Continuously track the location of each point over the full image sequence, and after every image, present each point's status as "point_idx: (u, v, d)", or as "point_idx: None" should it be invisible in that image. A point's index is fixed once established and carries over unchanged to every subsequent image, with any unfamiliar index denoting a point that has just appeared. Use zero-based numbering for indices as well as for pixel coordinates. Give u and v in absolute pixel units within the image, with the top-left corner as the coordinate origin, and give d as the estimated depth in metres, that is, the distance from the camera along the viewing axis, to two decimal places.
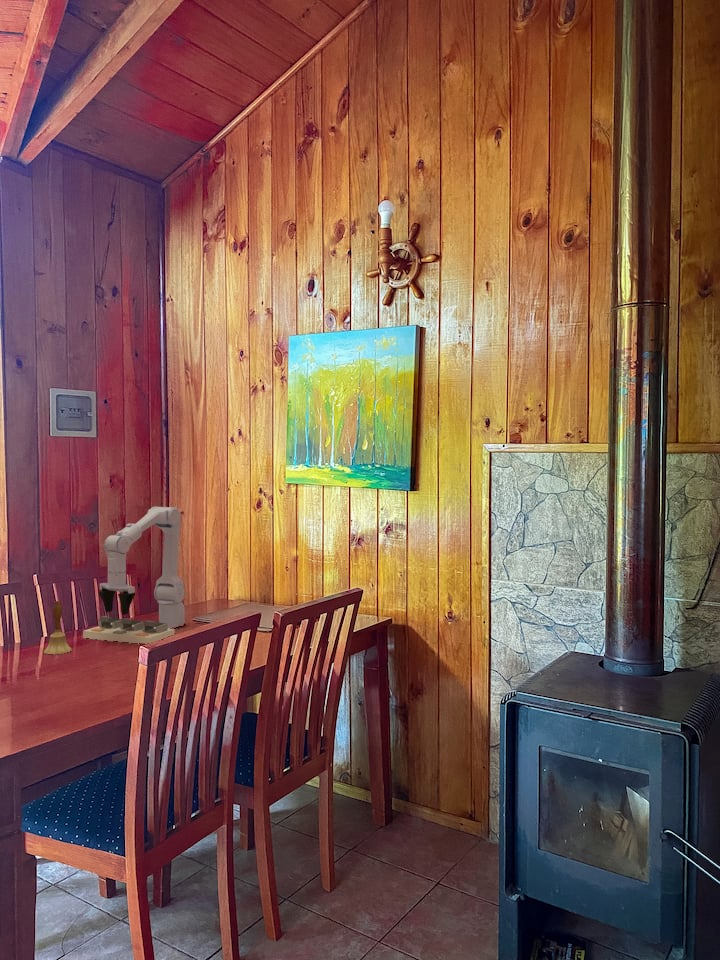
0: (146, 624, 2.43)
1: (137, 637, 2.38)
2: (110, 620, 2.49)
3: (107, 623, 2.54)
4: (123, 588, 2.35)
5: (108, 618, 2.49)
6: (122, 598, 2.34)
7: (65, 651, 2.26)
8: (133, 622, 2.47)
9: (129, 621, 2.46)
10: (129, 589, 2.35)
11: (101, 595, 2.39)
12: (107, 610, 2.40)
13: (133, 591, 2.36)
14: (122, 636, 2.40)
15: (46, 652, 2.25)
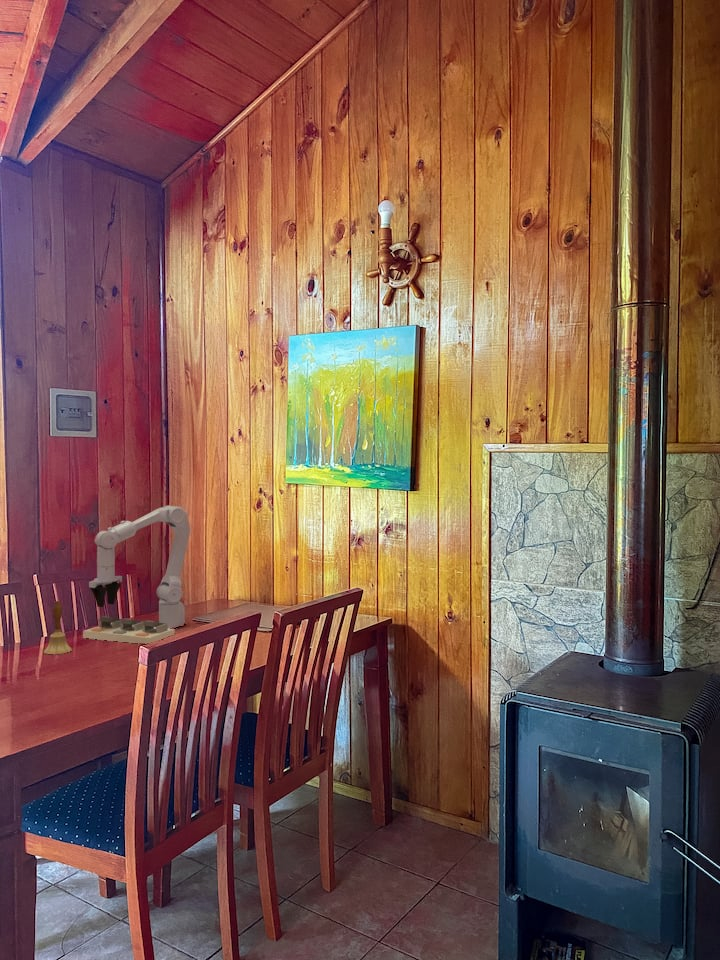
0: (146, 624, 2.43)
1: (137, 637, 2.38)
2: (110, 620, 2.49)
3: (107, 623, 2.54)
4: None
5: (108, 618, 2.49)
6: None
7: (65, 651, 2.26)
8: (133, 622, 2.47)
9: (129, 621, 2.46)
10: None
11: None
12: (108, 602, 2.53)
13: (92, 586, 2.43)
14: (122, 636, 2.40)
15: (46, 652, 2.25)
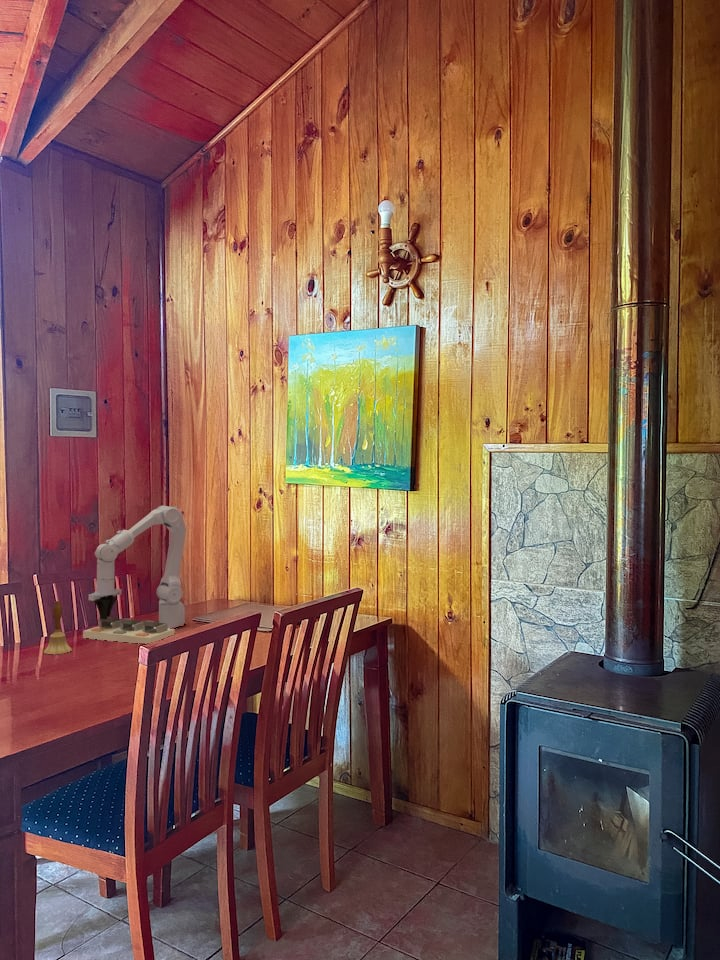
0: (146, 624, 2.43)
1: (137, 637, 2.38)
2: (110, 620, 2.49)
3: (107, 623, 2.54)
4: None
5: (108, 618, 2.49)
6: None
7: (65, 651, 2.26)
8: (133, 622, 2.47)
9: (129, 621, 2.46)
10: None
11: None
12: None
13: (91, 599, 2.43)
14: (122, 636, 2.40)
15: (46, 652, 2.25)
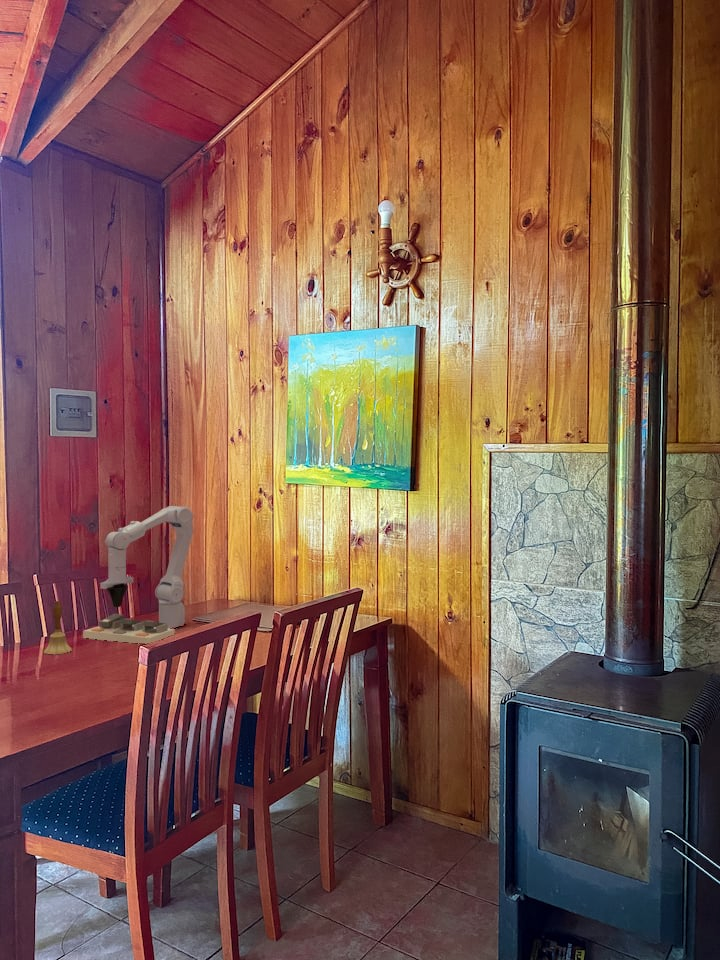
0: (146, 624, 2.43)
1: (137, 637, 2.38)
2: (110, 624, 2.49)
3: None
4: None
5: (107, 623, 2.49)
6: None
7: (65, 651, 2.26)
8: (133, 622, 2.47)
9: (129, 621, 2.46)
10: None
11: None
12: None
13: (103, 587, 2.41)
14: (122, 636, 2.40)
15: (46, 652, 2.25)
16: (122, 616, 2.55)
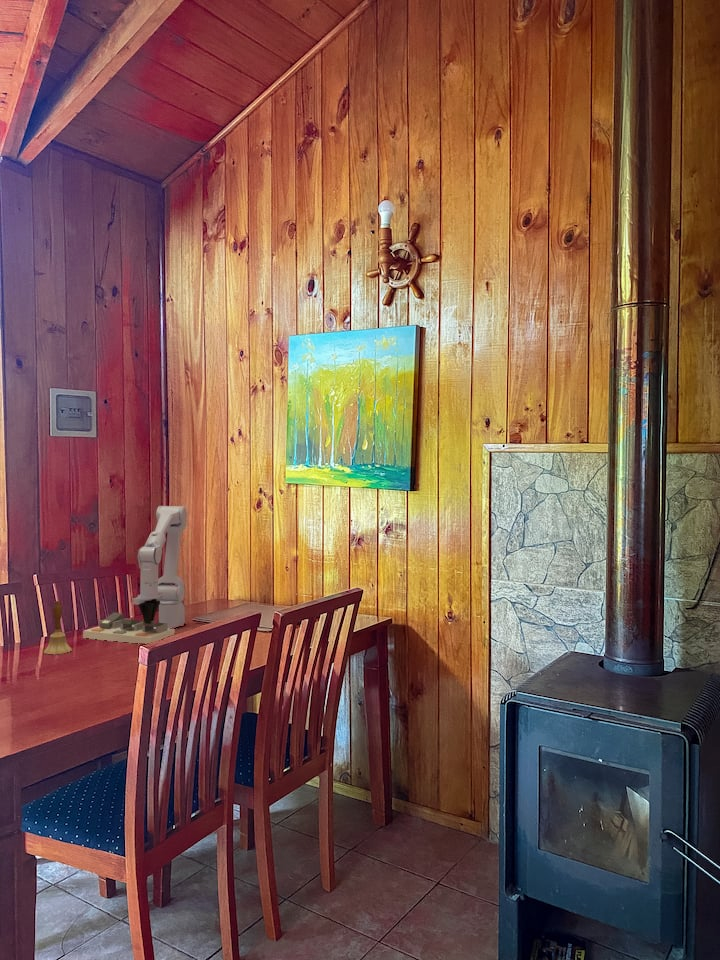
0: (146, 624, 2.43)
1: (137, 637, 2.38)
2: (110, 625, 2.50)
3: None
4: None
5: (108, 625, 2.49)
6: None
7: (65, 651, 2.26)
8: (133, 622, 2.47)
9: (129, 621, 2.46)
10: None
11: None
12: None
13: (136, 603, 2.36)
14: (122, 636, 2.40)
15: (46, 652, 2.25)
16: (122, 615, 2.55)
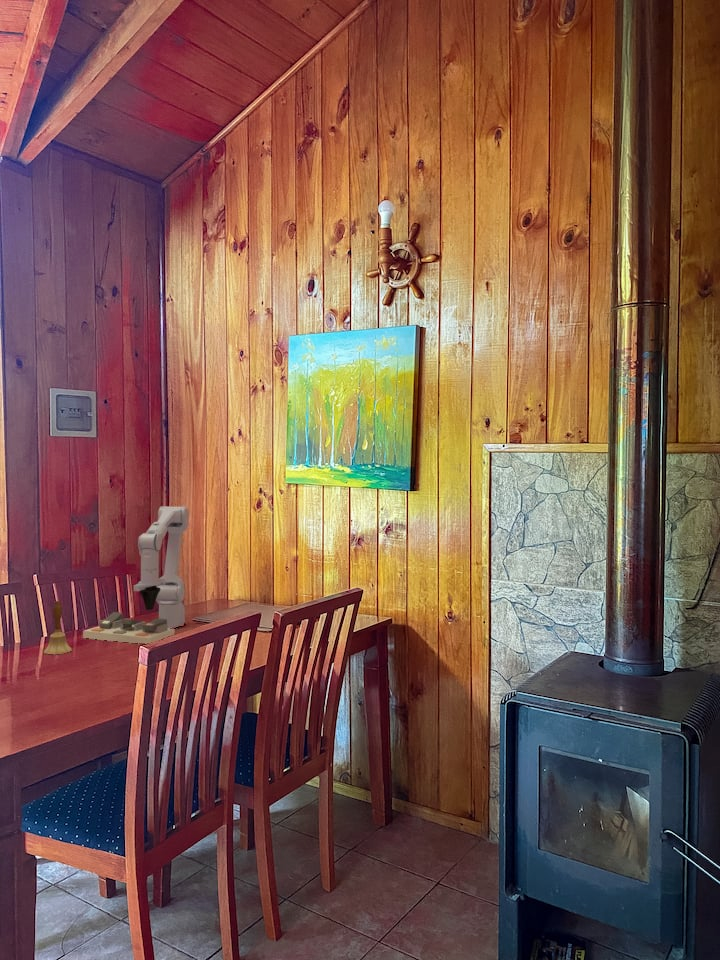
0: (146, 628, 2.43)
1: (137, 637, 2.38)
2: (110, 625, 2.50)
3: None
4: None
5: (108, 625, 2.49)
6: None
7: (65, 651, 2.26)
8: (133, 622, 2.47)
9: (129, 621, 2.46)
10: None
11: None
12: None
13: (137, 589, 2.37)
14: (122, 636, 2.40)
15: (46, 652, 2.25)
16: (122, 614, 2.55)
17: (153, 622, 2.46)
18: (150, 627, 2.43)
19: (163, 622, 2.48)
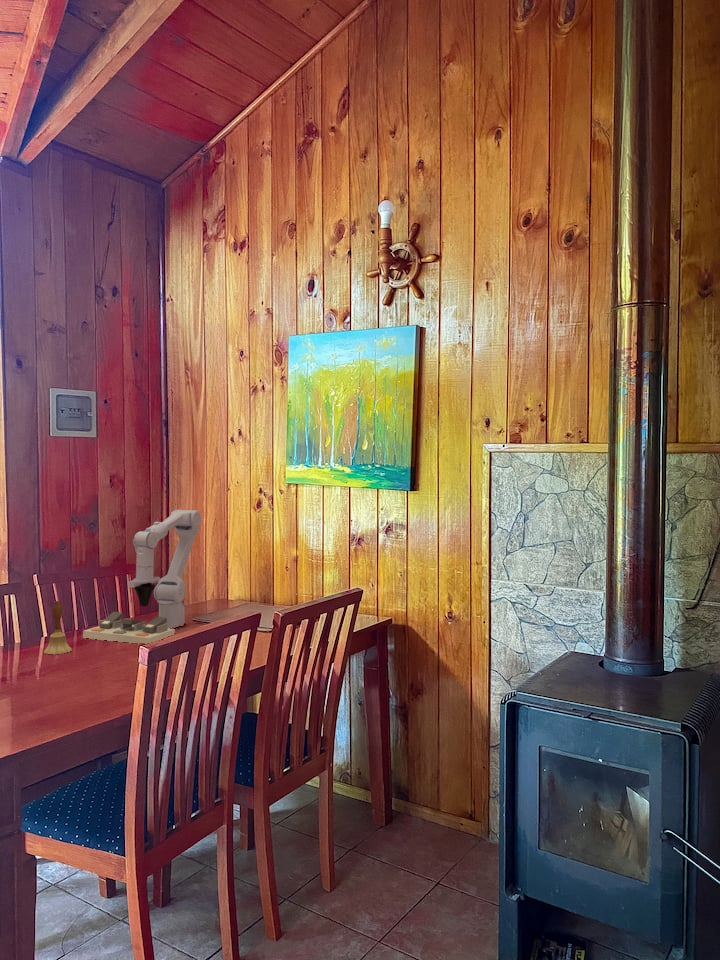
0: (146, 630, 2.43)
1: (137, 637, 2.38)
2: (110, 626, 2.50)
3: None
4: None
5: (108, 625, 2.49)
6: None
7: (65, 651, 2.26)
8: (133, 622, 2.47)
9: (129, 621, 2.46)
10: None
11: None
12: None
13: (132, 586, 2.43)
14: (122, 636, 2.40)
15: (46, 652, 2.25)
16: (122, 614, 2.55)
17: (153, 622, 2.46)
18: (150, 629, 2.43)
19: (163, 621, 2.48)
